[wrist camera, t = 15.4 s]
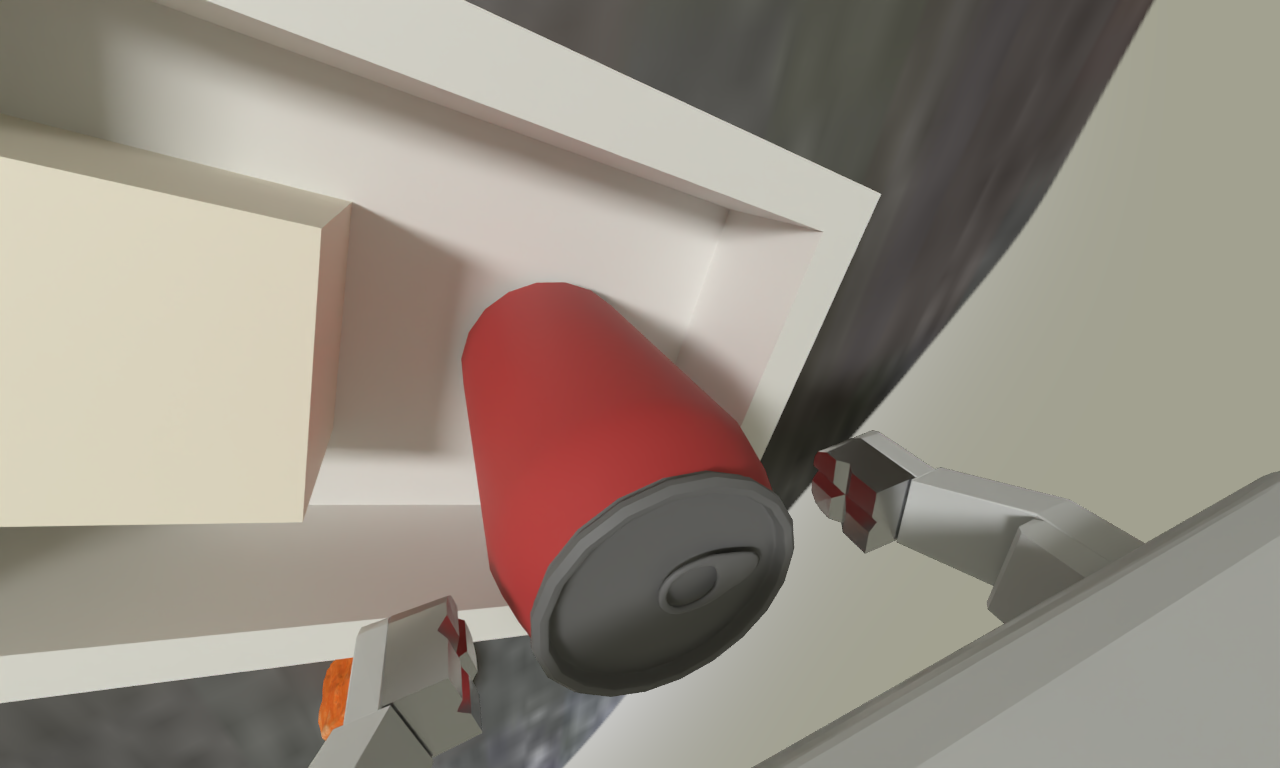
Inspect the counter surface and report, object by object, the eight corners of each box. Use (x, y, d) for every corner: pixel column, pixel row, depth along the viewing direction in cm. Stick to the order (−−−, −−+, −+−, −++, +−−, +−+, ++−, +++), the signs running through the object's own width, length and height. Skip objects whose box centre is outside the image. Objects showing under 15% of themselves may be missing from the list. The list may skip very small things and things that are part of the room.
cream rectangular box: (-59, 98, 11) (-366, 74, 7) (352, 201, 14) (321, 228, 10) (-1, 408, 13) (-191, 529, 9) (332, 429, 17) (302, 522, 13)
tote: (-283, -251, 9) (-1441, -885, 3) (760, 178, 20) (881, 194, 15) (-70, 526, 15) (-354, 748, 9) (637, 516, 26) (691, 613, 21)
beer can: (629, 407, 21) (801, 637, 12) (482, 446, 20) (536, 762, 10) (617, 264, 18) (839, 413, 8) (439, 293, 16) (455, 532, 6)
